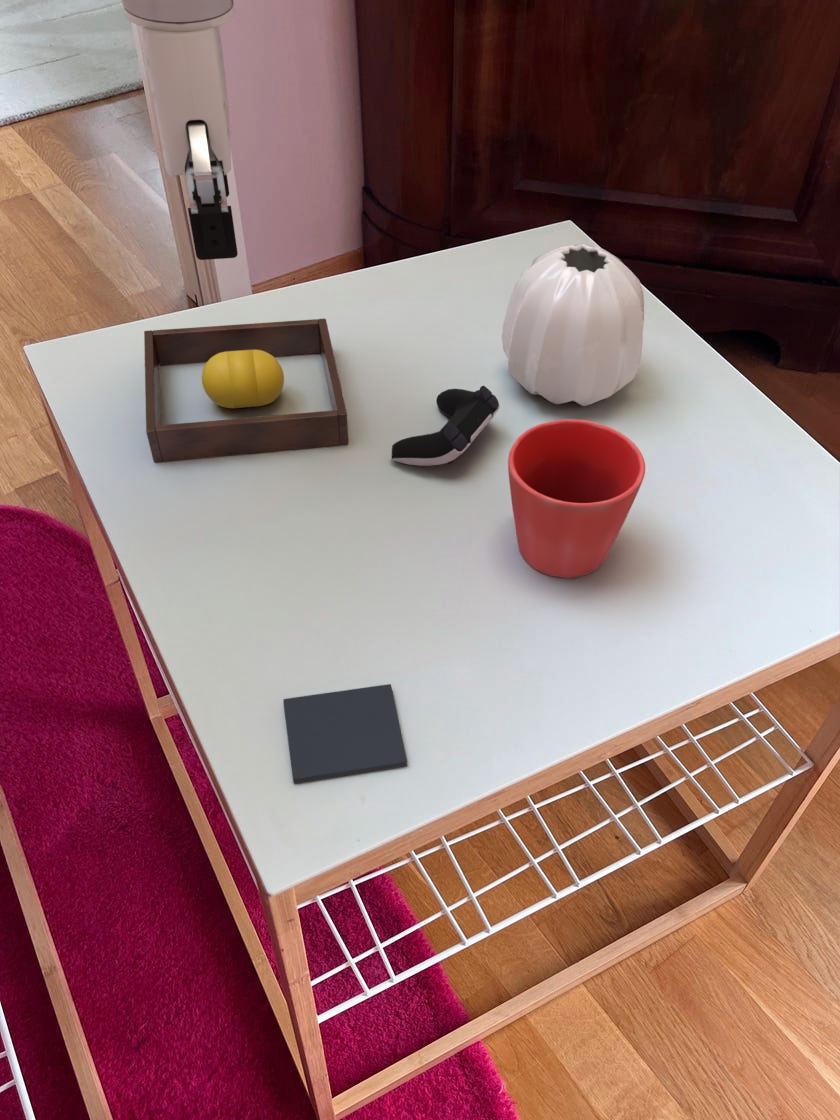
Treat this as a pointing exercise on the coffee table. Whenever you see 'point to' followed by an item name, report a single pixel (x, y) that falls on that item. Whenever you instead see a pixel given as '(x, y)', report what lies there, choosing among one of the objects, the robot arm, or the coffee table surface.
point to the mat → (343, 733)
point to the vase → (575, 325)
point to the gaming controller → (450, 428)
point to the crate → (242, 431)
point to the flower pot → (571, 493)
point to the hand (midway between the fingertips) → (213, 225)
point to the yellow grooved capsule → (242, 378)
